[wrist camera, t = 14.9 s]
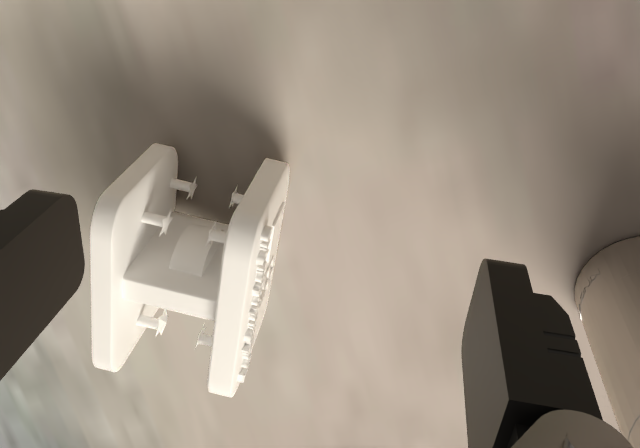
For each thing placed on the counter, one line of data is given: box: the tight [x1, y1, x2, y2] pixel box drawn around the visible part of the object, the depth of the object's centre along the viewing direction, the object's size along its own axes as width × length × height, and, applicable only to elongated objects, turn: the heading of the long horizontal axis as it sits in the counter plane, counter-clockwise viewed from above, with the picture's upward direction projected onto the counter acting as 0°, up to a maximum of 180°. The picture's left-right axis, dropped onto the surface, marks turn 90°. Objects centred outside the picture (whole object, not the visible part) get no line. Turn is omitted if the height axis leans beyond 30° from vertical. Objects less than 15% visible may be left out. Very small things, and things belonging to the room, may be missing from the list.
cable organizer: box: [90, 143, 290, 397], centre depth 43 cm, size 15×11×12 cm
